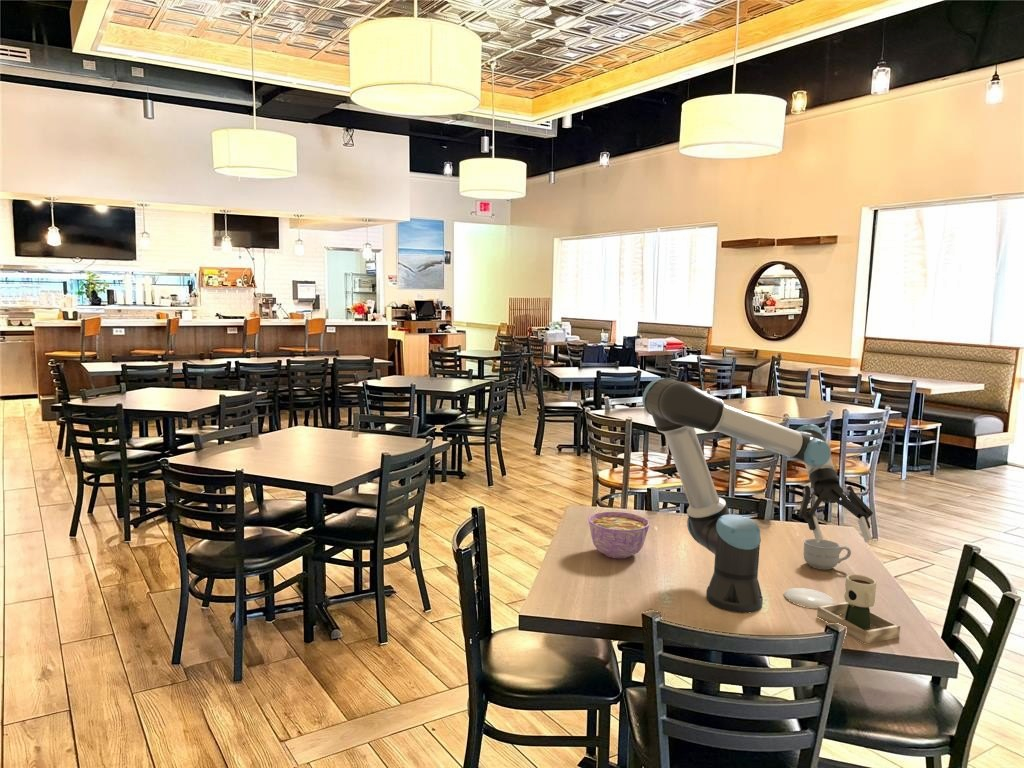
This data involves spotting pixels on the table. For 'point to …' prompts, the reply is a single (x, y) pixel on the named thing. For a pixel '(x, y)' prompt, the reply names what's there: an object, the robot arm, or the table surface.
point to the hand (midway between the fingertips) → (844, 540)
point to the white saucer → (808, 597)
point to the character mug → (859, 599)
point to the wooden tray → (882, 633)
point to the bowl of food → (618, 533)
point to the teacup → (823, 553)
